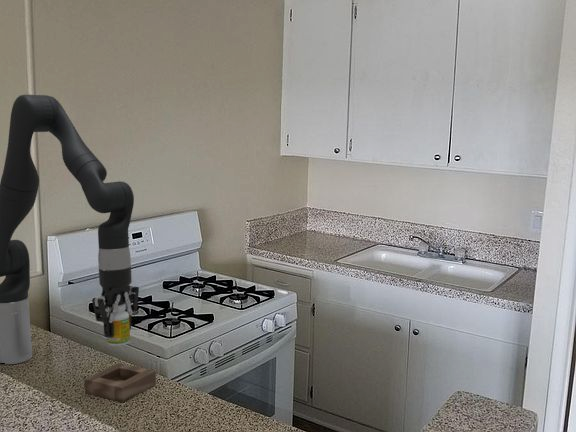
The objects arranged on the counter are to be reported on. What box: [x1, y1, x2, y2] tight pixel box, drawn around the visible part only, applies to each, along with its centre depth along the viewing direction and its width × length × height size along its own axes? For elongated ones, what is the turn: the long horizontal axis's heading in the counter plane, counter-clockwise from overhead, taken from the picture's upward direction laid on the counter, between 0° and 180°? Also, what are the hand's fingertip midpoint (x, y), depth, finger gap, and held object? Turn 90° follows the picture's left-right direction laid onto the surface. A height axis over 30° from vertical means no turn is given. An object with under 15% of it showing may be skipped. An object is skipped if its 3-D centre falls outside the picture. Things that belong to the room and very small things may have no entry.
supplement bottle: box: [106, 303, 131, 347], centre depth 162 cm, size 5×5×10 cm
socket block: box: [83, 362, 157, 403], centre depth 164 cm, size 12×12×4 cm
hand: (118, 333), depth 162 cm, fingers closed on supplement bottle, 5 cm apart
